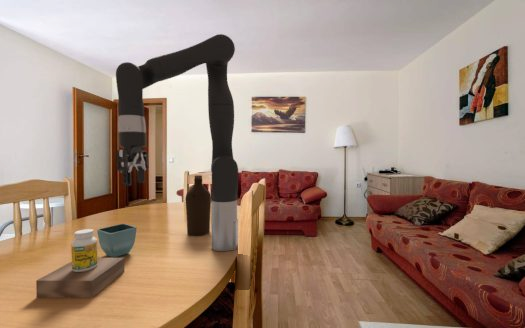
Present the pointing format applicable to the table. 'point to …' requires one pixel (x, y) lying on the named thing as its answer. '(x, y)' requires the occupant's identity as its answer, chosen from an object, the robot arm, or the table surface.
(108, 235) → the flower pot
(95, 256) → the supplement bottle
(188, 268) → the table surface
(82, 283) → the walnut plinth
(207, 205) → the olive oil
